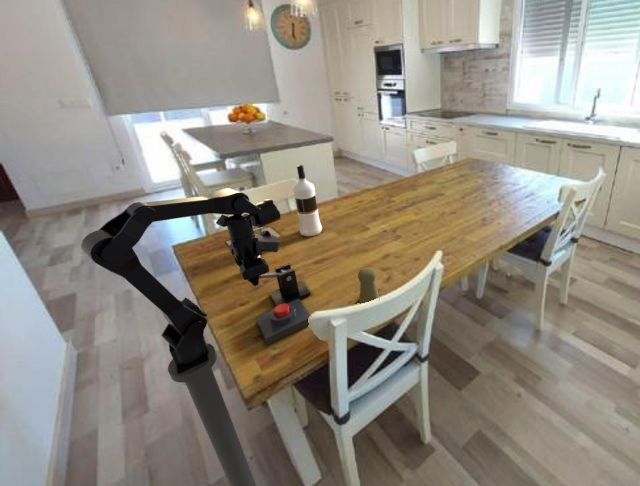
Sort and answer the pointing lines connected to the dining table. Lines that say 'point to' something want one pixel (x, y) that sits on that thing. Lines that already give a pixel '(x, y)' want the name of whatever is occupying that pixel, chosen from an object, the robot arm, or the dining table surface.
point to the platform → (259, 231)
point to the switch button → (282, 310)
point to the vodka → (306, 205)
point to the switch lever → (272, 274)
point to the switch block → (283, 322)
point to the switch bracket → (288, 287)
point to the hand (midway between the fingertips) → (254, 282)
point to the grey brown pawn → (367, 285)
